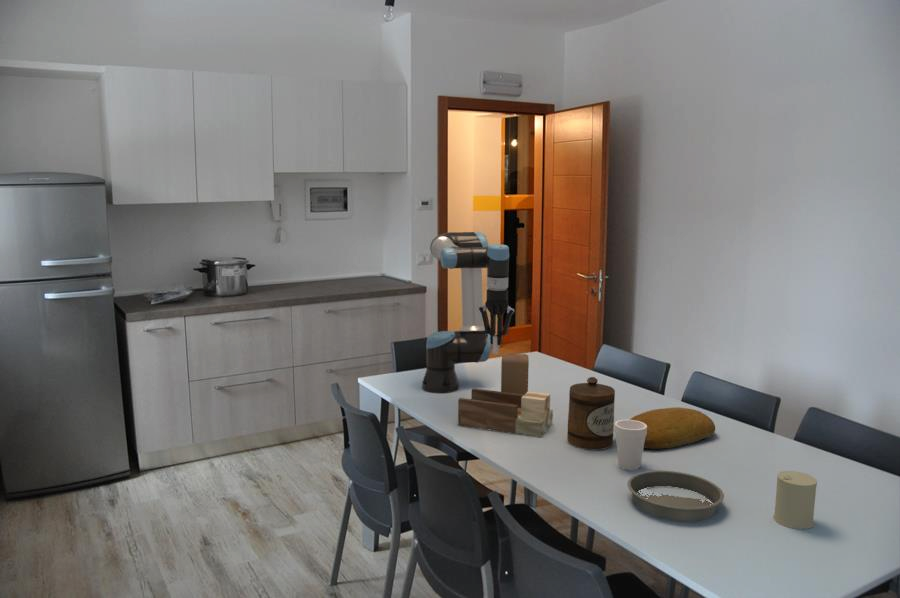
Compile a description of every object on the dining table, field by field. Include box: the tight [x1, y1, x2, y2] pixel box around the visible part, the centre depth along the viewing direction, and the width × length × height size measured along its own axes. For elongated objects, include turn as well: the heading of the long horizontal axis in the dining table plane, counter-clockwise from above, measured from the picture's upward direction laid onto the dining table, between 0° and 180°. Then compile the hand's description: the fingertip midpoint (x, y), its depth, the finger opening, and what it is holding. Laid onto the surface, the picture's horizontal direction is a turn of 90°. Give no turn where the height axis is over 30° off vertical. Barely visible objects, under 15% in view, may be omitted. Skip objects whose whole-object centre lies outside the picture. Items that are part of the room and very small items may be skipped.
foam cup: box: [614, 419, 647, 471], centre depth 216 cm, size 10×9×13 cm
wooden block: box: [500, 353, 530, 395], centre depth 271 cm, size 10×10×20 cm
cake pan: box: [627, 470, 725, 522], centre depth 192 cm, size 25×25×4 cm
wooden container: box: [566, 376, 616, 450], centre depth 235 cm, size 15×15×22 cm
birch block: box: [521, 390, 551, 420], centre depth 247 cm, size 8×8×7 cm
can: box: [772, 470, 818, 530], centre depth 181 cm, size 9×9×12 cm
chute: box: [457, 387, 554, 438], centre depth 252 cm, size 15×30×10 cm, turn 68°
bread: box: [629, 406, 716, 450], centre depth 240 cm, size 18×35×10 cm, turn 117°
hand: (495, 353), depth 257 cm, fingers closed
